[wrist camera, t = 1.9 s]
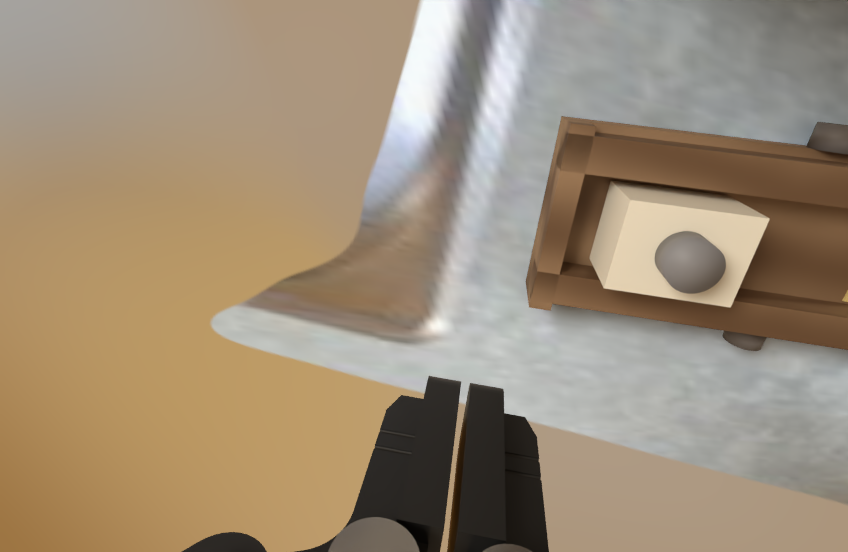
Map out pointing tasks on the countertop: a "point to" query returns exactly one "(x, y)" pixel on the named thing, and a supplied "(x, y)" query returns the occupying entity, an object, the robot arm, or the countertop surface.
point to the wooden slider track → (717, 174)
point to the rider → (675, 243)
